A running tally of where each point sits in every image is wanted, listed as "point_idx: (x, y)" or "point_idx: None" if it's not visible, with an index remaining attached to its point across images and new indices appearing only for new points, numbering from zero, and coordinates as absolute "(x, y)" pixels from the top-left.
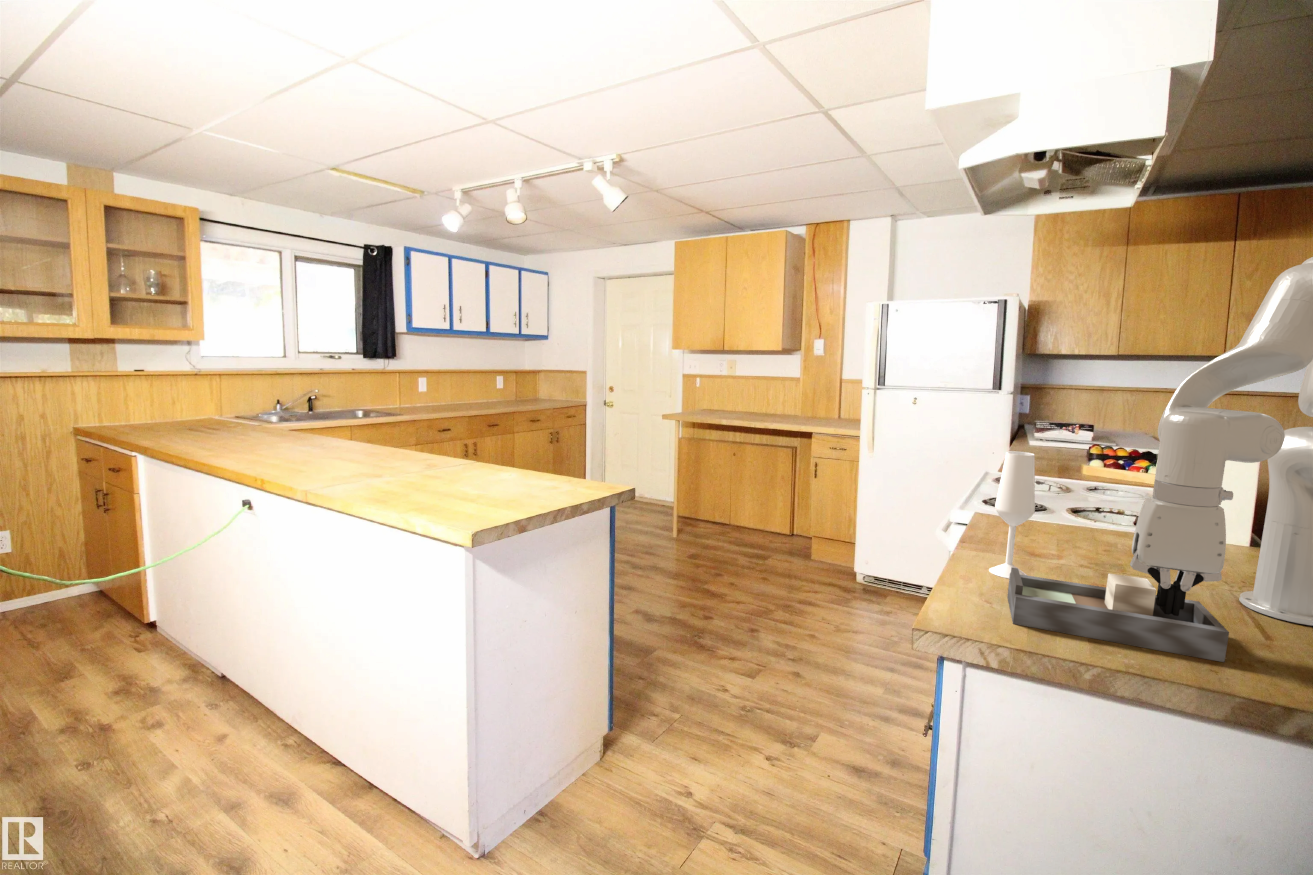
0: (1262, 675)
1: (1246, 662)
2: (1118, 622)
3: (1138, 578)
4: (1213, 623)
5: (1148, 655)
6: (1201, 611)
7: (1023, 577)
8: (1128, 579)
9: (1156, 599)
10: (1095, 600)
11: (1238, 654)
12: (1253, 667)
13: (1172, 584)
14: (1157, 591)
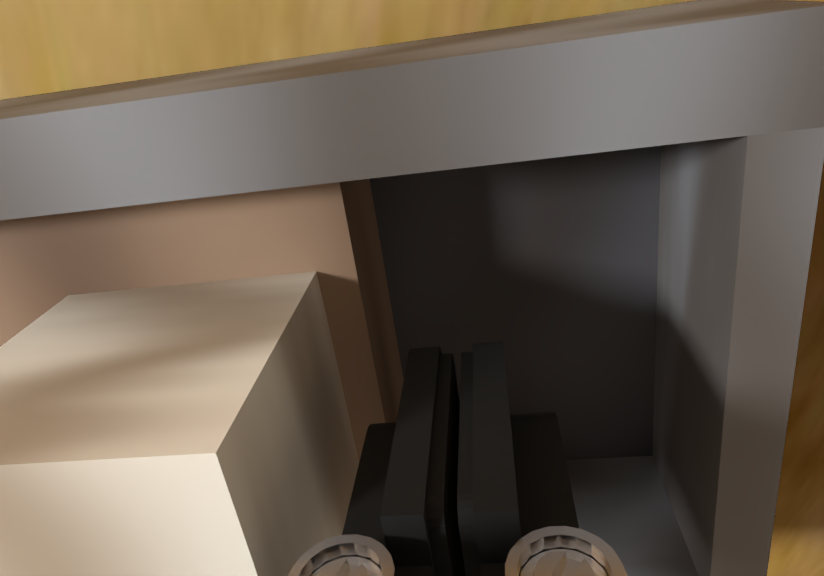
0: (810, 545)
1: (809, 438)
2: None
3: (133, 487)
4: (714, 559)
5: None
6: (729, 341)
7: None
8: (55, 570)
9: (367, 440)
10: (7, 283)
11: (820, 351)
12: (814, 481)
13: (483, 533)
14: (353, 493)
